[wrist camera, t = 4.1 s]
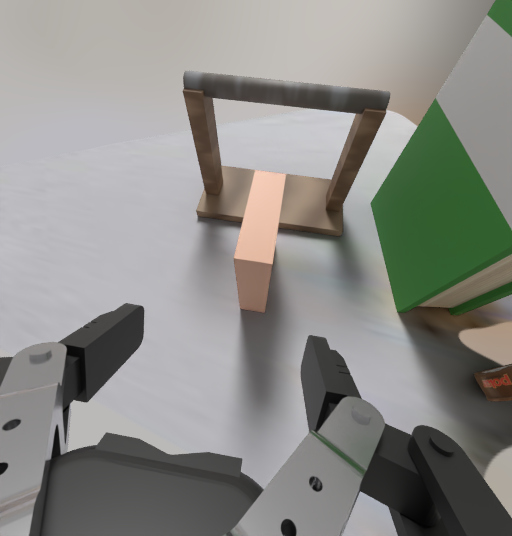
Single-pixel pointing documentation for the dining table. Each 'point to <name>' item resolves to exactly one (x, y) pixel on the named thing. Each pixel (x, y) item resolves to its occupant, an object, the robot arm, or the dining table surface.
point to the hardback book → (456, 185)
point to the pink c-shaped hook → (258, 240)
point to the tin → (496, 383)
